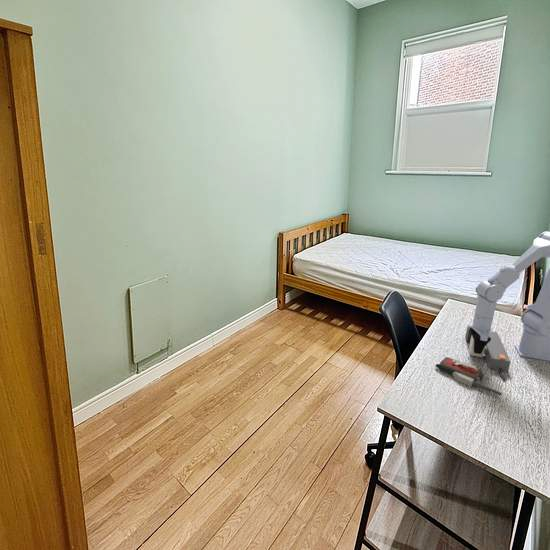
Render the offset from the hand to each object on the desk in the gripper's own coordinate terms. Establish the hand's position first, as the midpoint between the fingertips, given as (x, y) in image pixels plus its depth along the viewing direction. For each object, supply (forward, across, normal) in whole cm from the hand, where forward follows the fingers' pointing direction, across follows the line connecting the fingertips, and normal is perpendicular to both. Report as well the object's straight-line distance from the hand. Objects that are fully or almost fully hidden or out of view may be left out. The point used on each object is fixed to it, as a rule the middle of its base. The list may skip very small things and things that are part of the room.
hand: (476, 349), depth 128 cm
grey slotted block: (+2, +1, +3) cm, 4 cm away
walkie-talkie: (+2, +18, -4) cm, 19 cm away
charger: (+2, 0, +1) cm, 2 cm away
